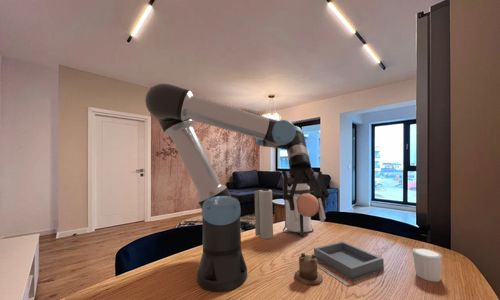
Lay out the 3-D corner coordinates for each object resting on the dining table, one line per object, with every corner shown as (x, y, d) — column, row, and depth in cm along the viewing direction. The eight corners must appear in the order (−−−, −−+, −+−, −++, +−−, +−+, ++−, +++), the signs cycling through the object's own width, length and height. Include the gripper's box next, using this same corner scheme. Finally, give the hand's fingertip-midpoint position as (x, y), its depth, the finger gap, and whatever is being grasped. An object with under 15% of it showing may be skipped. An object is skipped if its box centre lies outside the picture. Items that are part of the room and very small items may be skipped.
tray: (352, 281, 61) (351, 268, 62) (314, 258, 76) (313, 248, 76) (383, 269, 67) (383, 258, 67) (342, 250, 82) (342, 241, 82)
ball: (305, 221, 61) (305, 197, 61) (291, 214, 68) (291, 192, 67) (323, 218, 64) (324, 195, 64) (308, 211, 71) (308, 190, 70)
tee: (306, 288, 58) (305, 265, 59) (289, 274, 66) (288, 253, 66) (328, 281, 62) (327, 259, 62) (310, 268, 69) (309, 249, 69)
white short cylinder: (446, 285, 58) (444, 259, 59) (414, 278, 62) (413, 254, 62) (440, 273, 64) (439, 250, 65) (412, 268, 68) (410, 245, 68)
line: (347, 285, 59) (347, 285, 59) (301, 256, 77) (301, 256, 77) (350, 284, 60) (350, 283, 60) (304, 256, 78) (304, 255, 78)
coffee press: (320, 237, 96) (318, 170, 98) (285, 237, 96) (283, 171, 98) (310, 225, 114) (308, 168, 115) (280, 225, 114) (278, 169, 115)
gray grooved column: (275, 236, 98) (274, 189, 99) (267, 240, 94) (266, 191, 95) (263, 233, 103) (262, 188, 104) (255, 236, 99) (254, 190, 100)
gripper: (323, 166, 81) (340, 225, 65) (271, 166, 81) (275, 225, 65) (328, 153, 75) (348, 214, 59) (272, 153, 76) (277, 213, 60)
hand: (310, 219), depth 62 cm, fingers closed on ball, 7 cm apart
